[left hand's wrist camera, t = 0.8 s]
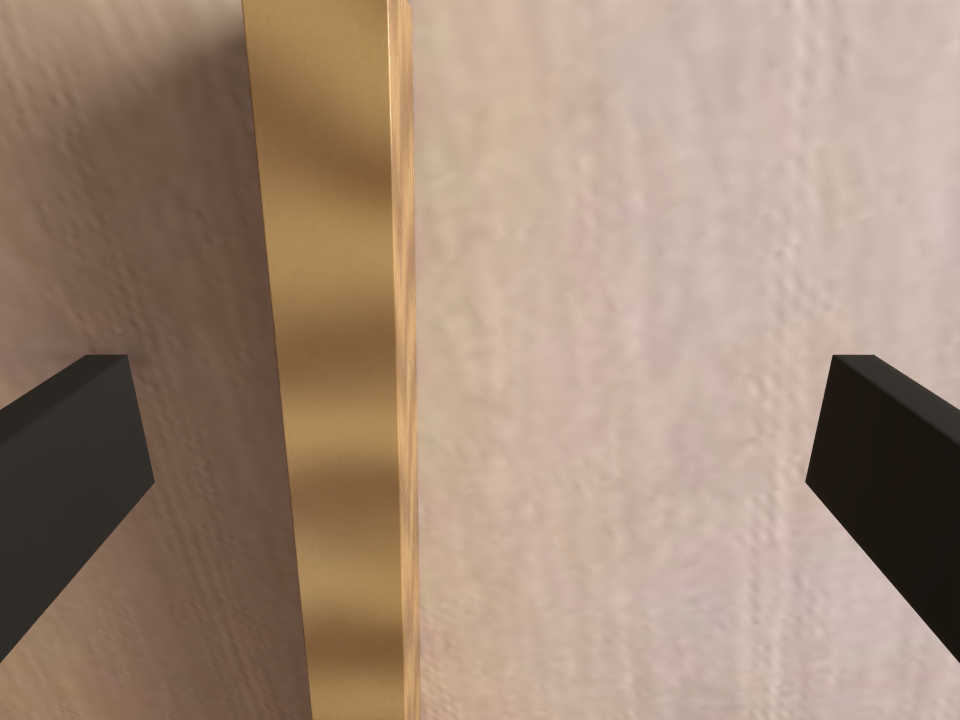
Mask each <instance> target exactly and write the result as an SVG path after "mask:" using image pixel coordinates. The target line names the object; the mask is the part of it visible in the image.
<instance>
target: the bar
mask: <svg viewBox="0 0 960 720" xmlns="http://www.w3.org/2000/svg"><path fill="white" fill-rule="evenodd" d="M241 1H242V11H243V21H244V31H245V41H246V52H247V62H248V72H249V82H250V92H251V102H252V113H253V123H254V133H255V143H256V153H257V164H258V174H259V184H260V194H261V204H262V214H263V225H264V235H265V245H266V255H267V265H268V275H269V286H270V296H271V306H272V316H273V326H274V337H275V347H276V357H277V367H278V377H279V387H280V398H281V408H282V418H283V428H284V438H285V449H286V459H287V469H288V479H289V489H290V499H291V510H292V520H293V530H294V540H295V550H296V560H297V571H298V581H299V591H300V601H301V611H302V622H303V632H304V642H305V652H306V662H307V672H308V683H309V693H310V703H311V713H312V720H421V710H420V630H419V550H418V469H417V389H416V308H415V228H414V148H413V67H412V8H411V6H410V5H409V3H408V2H407V0H241Z"/></svg>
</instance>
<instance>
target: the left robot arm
mask: <svg viewBox="0 0 960 720" xmlns="http://www.w3.org/2000/svg"><path fill="white" fill-rule="evenodd" d="M154 482H155V481H154V476H153V472H152V467H151V463H150V458H149V453H148V449H147V444H146V439H145V435H144V430H143V426H142V421H141V416H140V412H139V407H138V402H137V398H136V393H135V389H134V384H133V379H132V375H131V370H130V365H129V361H128V356H127V355H85V356H84V357H82V358H80V359H79V360H77V361H76V362H74V363H73V364H71V365H70V366H68V367H66V368H65V369H63V370H62V371H60V372H59V373H57V374H56V375H54V376H52V377H51V378H49V379H48V380H46V381H45V382H43V383H42V384H40V385H38V386H37V387H35V388H34V389H32V390H31V391H29V392H28V393H26V394H24V395H23V396H21V397H20V398H18V399H17V400H15V401H14V402H12V403H10V404H9V405H7V406H6V407H4V408H3V409H1V410H0V663H1V662H2V660H3V659H4V658H5V657H6V656H7V655H8V653H9V652H10V651H11V650H12V649H13V648H14V646H15V645H16V644H17V643H18V642H19V641H20V639H21V638H22V637H23V636H24V635H25V634H26V632H27V631H28V630H29V629H30V628H31V626H32V625H33V624H34V623H35V622H36V621H37V619H38V618H39V617H40V616H41V615H42V614H43V612H44V611H45V610H46V609H47V608H48V607H49V605H50V604H51V603H52V602H53V601H54V600H55V598H56V597H57V596H58V595H59V594H60V593H61V591H62V590H63V589H64V588H65V587H66V586H67V584H68V583H69V582H70V581H71V580H72V578H73V577H74V576H75V575H76V574H77V573H78V571H79V570H80V569H81V568H82V567H83V566H84V564H85V563H86V562H87V561H88V560H89V559H90V557H91V556H92V555H93V554H94V553H95V552H96V550H97V549H98V548H99V547H100V546H101V545H102V543H103V542H104V541H105V540H106V539H107V538H108V536H109V535H110V534H111V533H112V532H113V530H114V529H115V528H116V527H117V526H118V525H119V523H120V522H121V521H122V520H123V519H124V518H125V516H126V515H127V514H128V513H129V512H130V511H131V509H132V508H133V507H134V506H135V505H136V504H137V502H138V501H139V500H140V499H141V498H142V497H143V495H144V494H145V493H146V492H147V491H148V489H149V488H150V487H151V486H152V485H153V484H154ZM805 482H806V484H807V485H808V486H809V487H810V488H811V489H812V491H813V492H814V493H815V494H816V495H817V497H818V498H819V499H820V500H821V501H822V502H823V504H824V505H825V506H826V507H827V508H828V509H829V511H830V512H831V513H832V514H833V515H834V516H835V518H836V519H837V520H838V521H839V522H840V523H841V525H842V526H843V527H844V528H845V529H846V530H847V532H848V533H849V534H850V535H851V536H852V538H853V539H854V540H855V541H856V542H857V543H858V545H859V546H860V547H861V548H862V549H863V550H864V552H865V553H866V554H867V555H868V556H869V557H870V559H871V560H872V561H873V562H874V563H875V564H876V566H877V567H878V568H879V569H880V570H881V571H882V573H883V574H884V575H885V576H886V577H887V578H888V580H889V581H890V582H891V583H892V584H893V586H894V587H895V588H896V589H897V590H898V591H899V593H900V594H901V595H902V596H903V597H904V598H905V600H906V601H907V602H908V603H909V604H910V605H911V607H912V608H913V609H914V610H915V611H916V612H917V614H918V615H919V616H920V617H921V618H922V619H923V621H924V622H925V623H926V624H927V625H928V626H929V628H930V629H931V630H932V631H933V632H934V634H935V635H936V636H937V637H938V638H939V639H940V641H941V642H942V643H943V644H944V645H945V646H946V648H947V649H948V650H949V651H950V652H951V653H952V655H953V656H954V657H955V658H956V659H957V660H958V662H959V663H960V410H959V409H957V408H956V407H954V406H953V405H951V404H950V403H948V402H946V401H945V400H943V399H942V398H940V397H939V396H937V395H936V394H934V393H932V392H931V391H929V390H928V389H926V388H925V387H923V386H922V385H920V384H918V383H917V382H915V381H914V380H912V379H911V378H909V377H908V376H906V375H904V374H903V373H901V372H900V371H898V370H897V369H895V368H894V367H892V366H890V365H889V364H887V363H886V362H884V361H883V360H881V359H880V358H878V357H876V356H875V355H833V356H832V361H831V365H830V370H829V375H828V379H827V384H826V388H825V393H824V398H823V402H822V407H821V412H820V416H819V421H818V426H817V430H816V435H815V439H814V444H813V449H812V453H811V458H810V463H809V467H808V472H807V476H806V481H805Z"/></svg>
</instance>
